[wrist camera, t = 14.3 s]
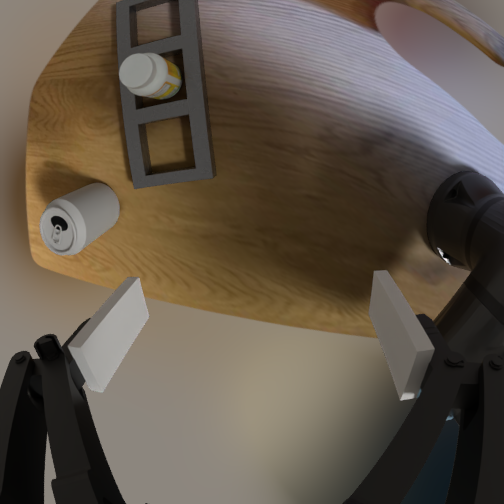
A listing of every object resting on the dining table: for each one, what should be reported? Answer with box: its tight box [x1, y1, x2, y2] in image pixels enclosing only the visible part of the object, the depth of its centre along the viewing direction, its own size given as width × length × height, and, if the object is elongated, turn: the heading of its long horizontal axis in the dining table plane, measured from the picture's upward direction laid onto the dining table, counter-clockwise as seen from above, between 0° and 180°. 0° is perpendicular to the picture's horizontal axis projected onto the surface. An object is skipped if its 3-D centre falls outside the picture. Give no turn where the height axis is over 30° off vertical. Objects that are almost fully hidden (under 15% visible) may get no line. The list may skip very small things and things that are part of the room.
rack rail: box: [116, 0, 216, 189], centre depth 33 cm, size 11×28×2 cm, turn 6°
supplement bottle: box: [119, 53, 183, 100], centre depth 30 cm, size 5×5×10 cm
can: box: [40, 183, 120, 255], centre depth 37 cm, size 8×8×12 cm
